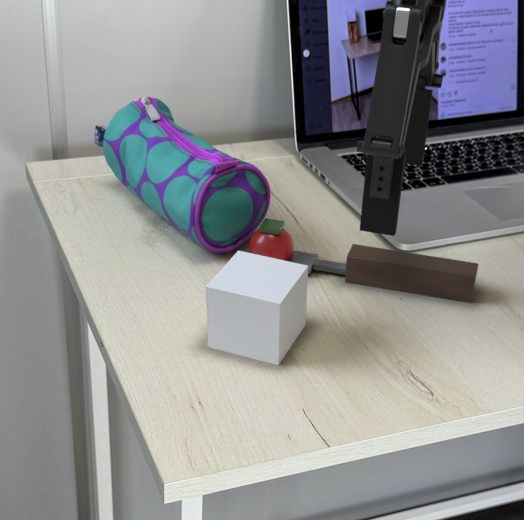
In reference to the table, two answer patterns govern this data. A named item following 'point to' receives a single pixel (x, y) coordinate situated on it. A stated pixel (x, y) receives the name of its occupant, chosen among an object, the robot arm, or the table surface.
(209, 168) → the pencil case
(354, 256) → the brown handled tool
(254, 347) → the white cube
